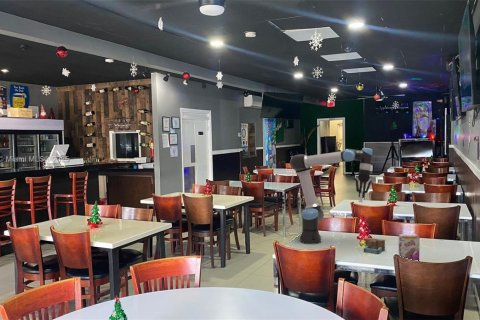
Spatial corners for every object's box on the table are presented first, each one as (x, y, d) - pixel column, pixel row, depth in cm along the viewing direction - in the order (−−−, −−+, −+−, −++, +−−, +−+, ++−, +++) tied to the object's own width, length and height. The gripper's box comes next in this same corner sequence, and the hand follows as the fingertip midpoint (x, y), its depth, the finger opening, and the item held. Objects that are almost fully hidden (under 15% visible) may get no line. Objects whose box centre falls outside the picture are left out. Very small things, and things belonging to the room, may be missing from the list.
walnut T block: (362, 251, 279) (362, 240, 279) (366, 247, 287) (366, 237, 287) (381, 253, 273) (381, 242, 272) (384, 250, 281) (384, 239, 280)
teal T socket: (363, 252, 277) (363, 248, 277) (367, 249, 284) (367, 245, 283) (378, 254, 271) (378, 250, 271) (382, 251, 278) (382, 247, 278)
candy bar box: (400, 263, 252) (400, 236, 251) (398, 260, 257) (398, 234, 256) (419, 263, 251) (419, 236, 250) (417, 260, 256) (417, 234, 255)
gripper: (375, 171, 301) (371, 203, 300) (357, 168, 308) (353, 200, 307) (372, 170, 294) (368, 203, 294) (354, 168, 301) (350, 200, 301)
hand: (360, 202), depth 301 cm, fingers closed
